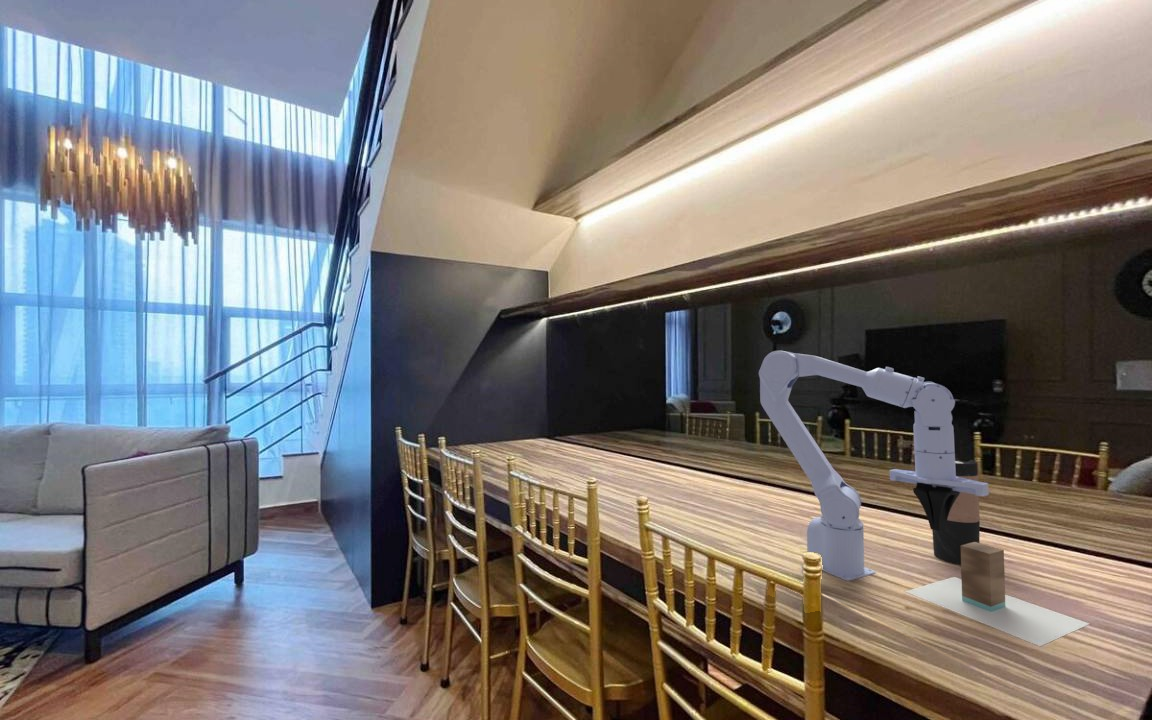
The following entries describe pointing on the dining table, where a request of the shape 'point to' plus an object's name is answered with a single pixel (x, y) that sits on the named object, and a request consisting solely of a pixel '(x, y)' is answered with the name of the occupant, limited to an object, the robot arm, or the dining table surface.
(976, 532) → the travel mug
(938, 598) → the grey mat
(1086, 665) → the dining table surface
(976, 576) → the walnut block
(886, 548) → the dining table surface
